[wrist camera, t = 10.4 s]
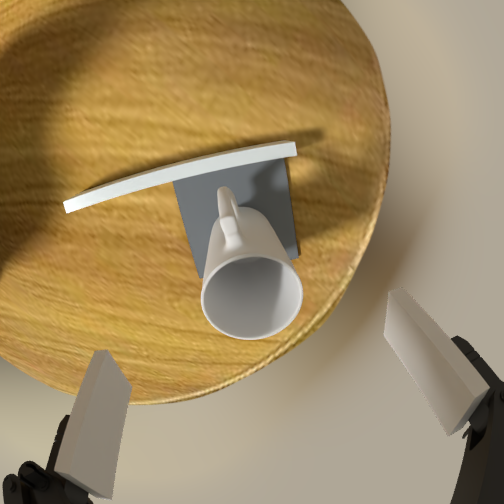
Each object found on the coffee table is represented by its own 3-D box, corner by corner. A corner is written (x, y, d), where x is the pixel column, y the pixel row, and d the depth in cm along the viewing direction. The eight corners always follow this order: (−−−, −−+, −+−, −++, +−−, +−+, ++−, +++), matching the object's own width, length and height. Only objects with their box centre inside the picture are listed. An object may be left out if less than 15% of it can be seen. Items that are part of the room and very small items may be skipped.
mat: (200, 276, 31) (199, 278, 31) (173, 179, 27) (172, 180, 26) (297, 256, 31) (298, 258, 31) (283, 156, 27) (283, 157, 26)
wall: (83, 202, 27) (66, 213, 23) (80, 192, 26) (63, 201, 22) (287, 151, 27) (297, 155, 23) (285, 140, 26) (294, 141, 23)
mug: (280, 255, 31) (310, 325, 20) (220, 272, 31) (220, 349, 20) (256, 163, 27) (279, 188, 16) (189, 184, 27) (165, 222, 16)
